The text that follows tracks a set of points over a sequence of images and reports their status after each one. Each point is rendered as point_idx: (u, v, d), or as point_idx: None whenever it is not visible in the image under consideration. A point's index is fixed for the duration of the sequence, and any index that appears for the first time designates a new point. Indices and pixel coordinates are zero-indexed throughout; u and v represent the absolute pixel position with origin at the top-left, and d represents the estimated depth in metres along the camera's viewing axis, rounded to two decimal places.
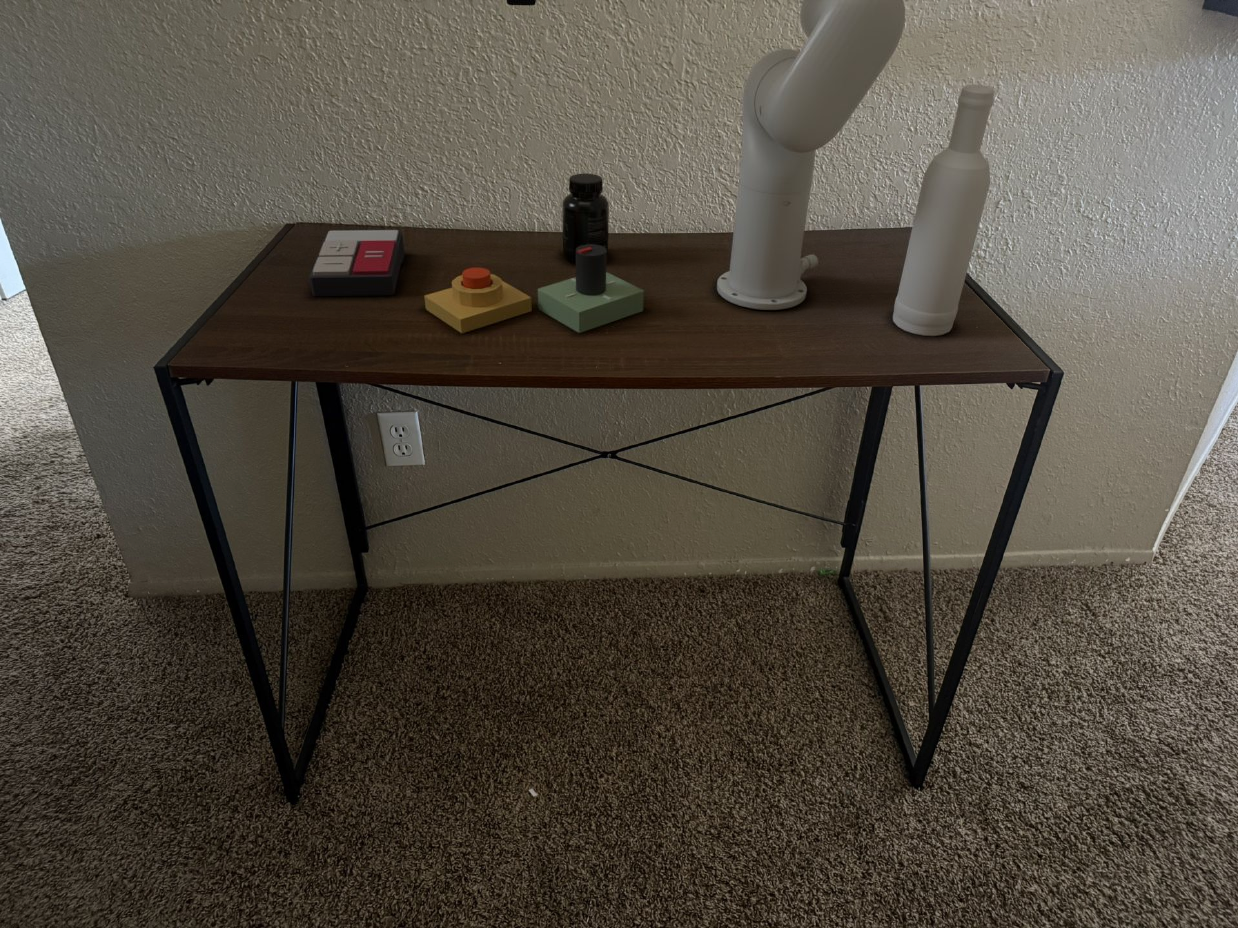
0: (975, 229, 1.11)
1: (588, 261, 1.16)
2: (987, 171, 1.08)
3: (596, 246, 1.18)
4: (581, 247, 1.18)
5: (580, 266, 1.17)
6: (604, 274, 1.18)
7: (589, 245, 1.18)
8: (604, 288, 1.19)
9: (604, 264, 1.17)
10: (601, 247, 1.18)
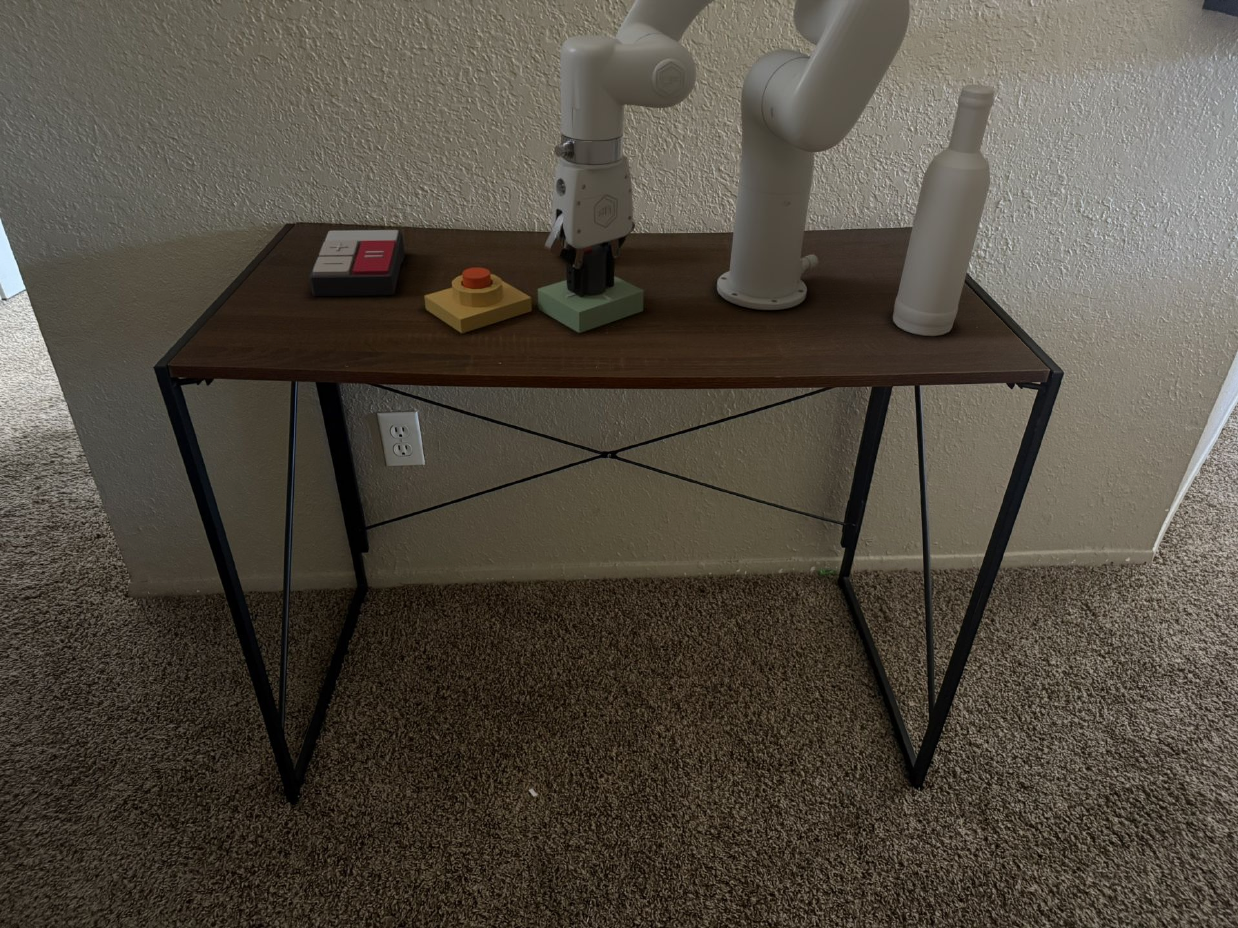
0: (975, 229, 1.11)
1: (588, 261, 1.16)
2: (987, 171, 1.08)
3: (596, 246, 1.18)
4: None
5: None
6: (604, 274, 1.18)
7: None
8: (604, 288, 1.19)
9: (604, 264, 1.17)
10: (601, 247, 1.18)
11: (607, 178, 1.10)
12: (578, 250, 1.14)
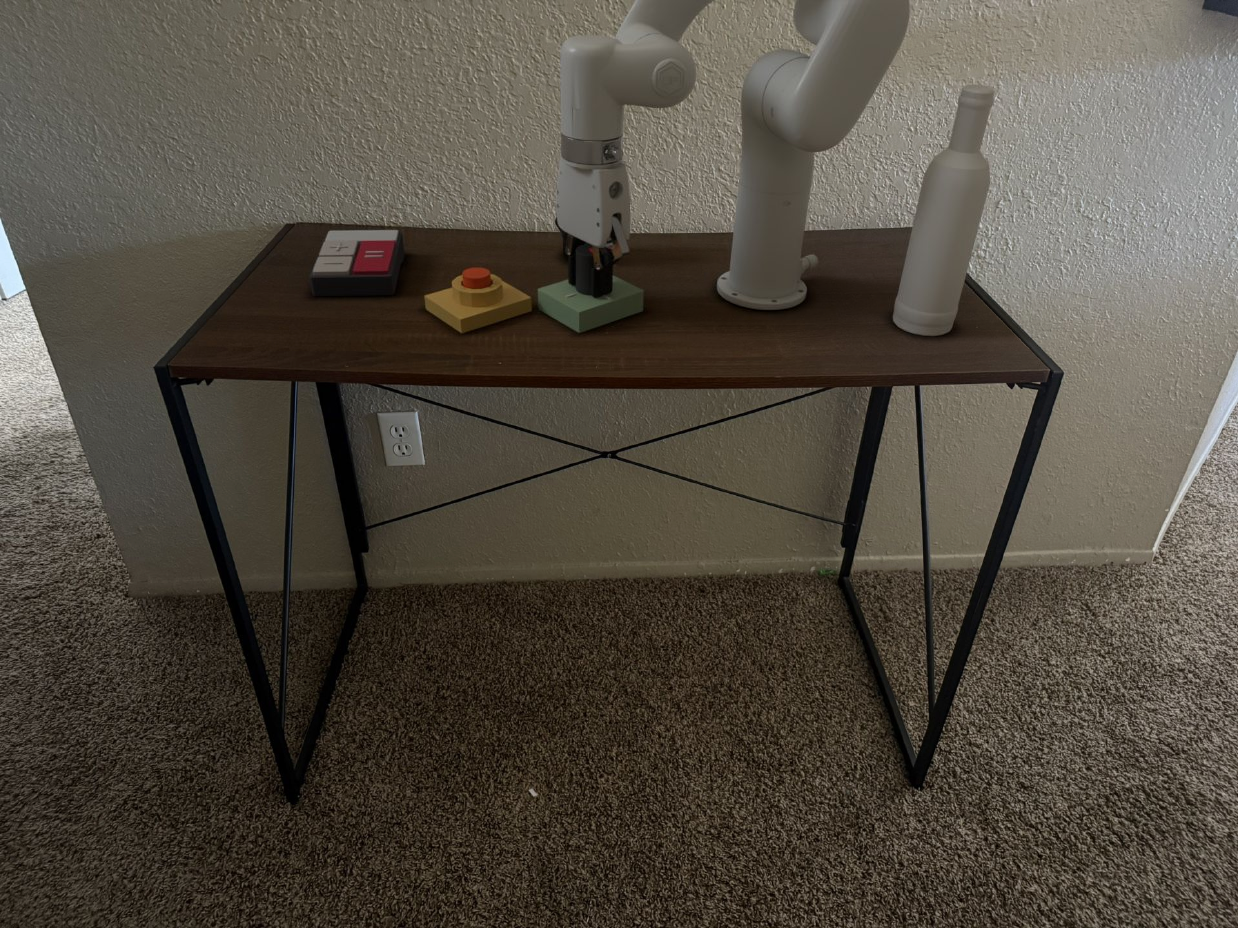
0: (975, 229, 1.11)
1: None
2: (987, 171, 1.08)
3: (583, 246, 1.18)
4: (583, 252, 1.16)
5: None
6: None
7: (579, 249, 1.17)
8: None
9: None
10: (587, 245, 1.18)
11: None
12: (614, 247, 1.15)
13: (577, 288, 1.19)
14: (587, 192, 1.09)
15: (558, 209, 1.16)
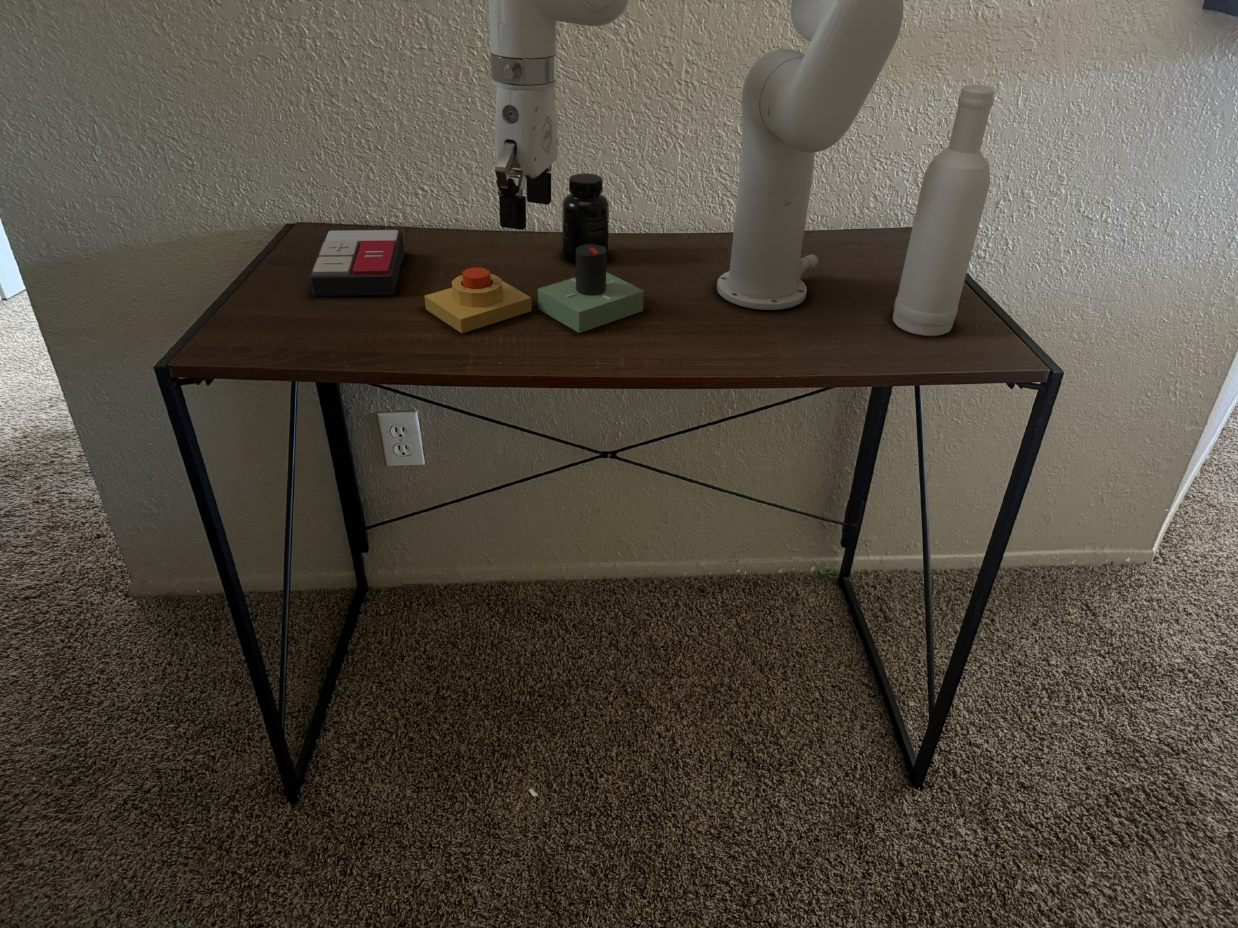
0: (975, 229, 1.11)
1: (605, 258, 1.17)
2: (987, 171, 1.08)
3: (583, 246, 1.18)
4: (583, 252, 1.16)
5: (598, 267, 1.17)
6: None
7: (579, 249, 1.17)
8: None
9: None
10: (587, 245, 1.18)
11: (547, 99, 1.06)
12: (523, 177, 1.06)
13: (577, 287, 1.19)
14: None
15: None
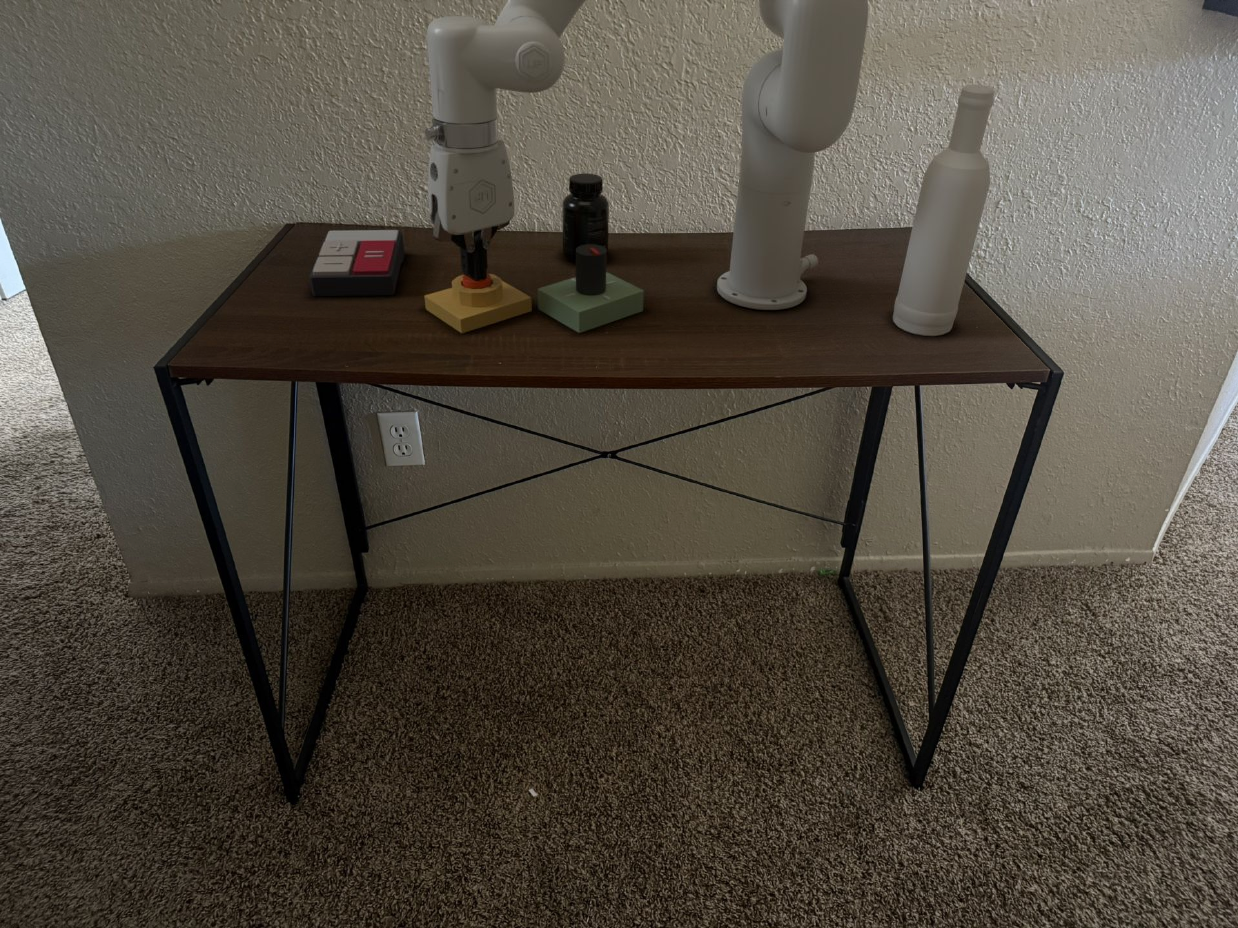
0: (975, 229, 1.11)
1: (605, 258, 1.17)
2: (987, 171, 1.08)
3: (583, 246, 1.18)
4: (583, 252, 1.16)
5: (598, 267, 1.17)
6: None
7: (579, 249, 1.17)
8: None
9: None
10: (587, 245, 1.18)
11: (482, 163, 1.08)
12: (465, 236, 1.13)
13: (577, 287, 1.19)
14: None
15: None
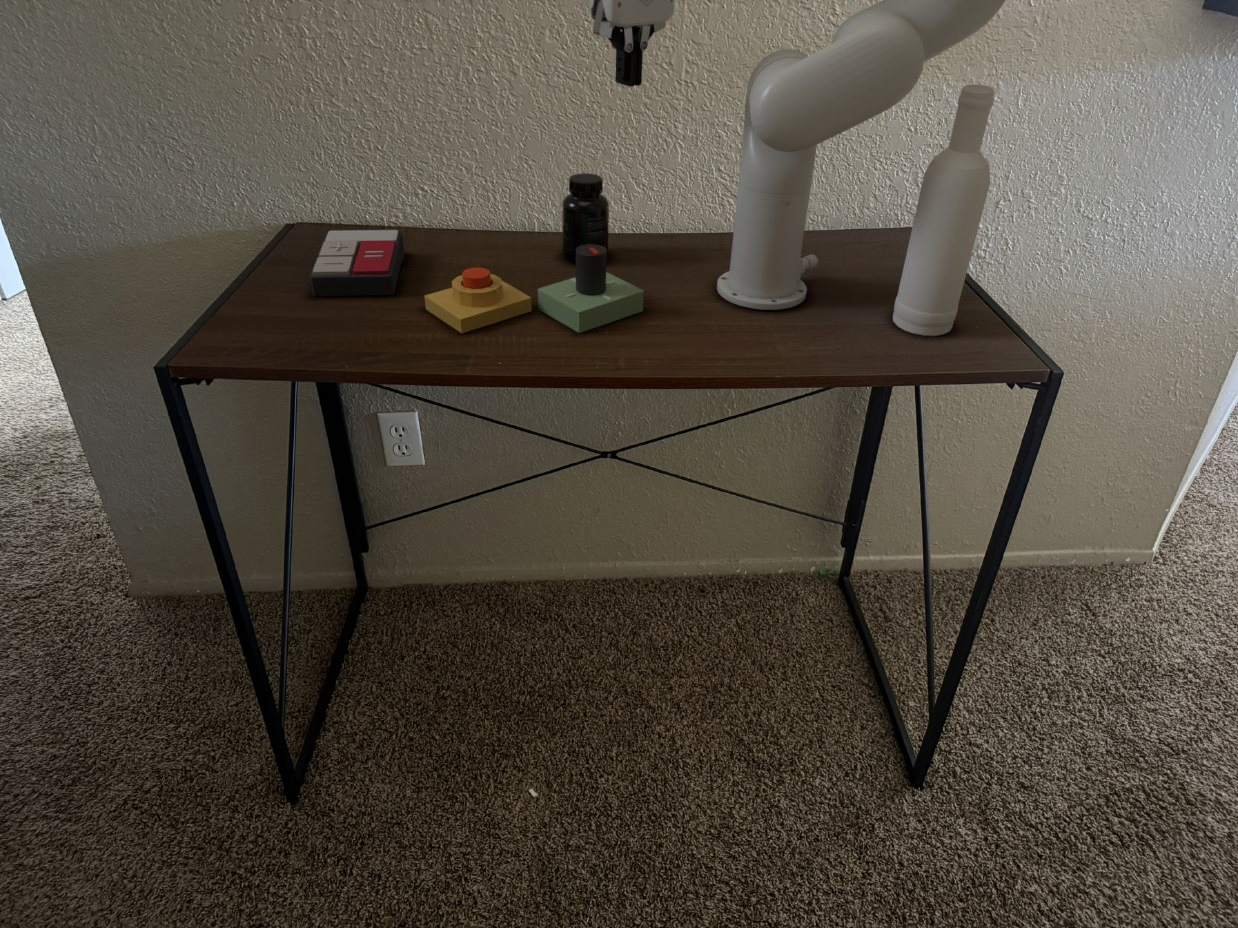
0: (975, 229, 1.11)
1: (605, 258, 1.17)
2: (987, 171, 1.08)
3: (583, 246, 1.18)
4: (583, 252, 1.16)
5: (598, 267, 1.17)
6: None
7: (579, 249, 1.17)
8: None
9: None
10: (587, 245, 1.18)
11: None
12: (625, 32, 1.08)
13: (577, 287, 1.19)
14: None
15: None
